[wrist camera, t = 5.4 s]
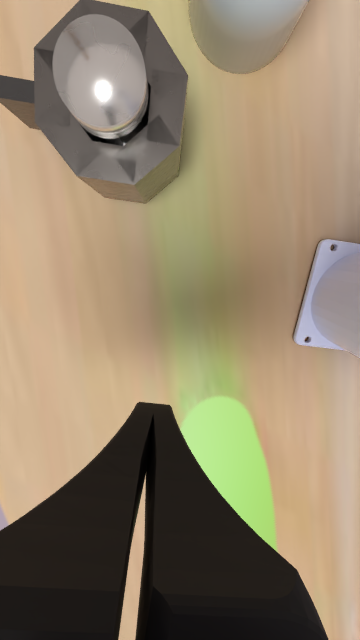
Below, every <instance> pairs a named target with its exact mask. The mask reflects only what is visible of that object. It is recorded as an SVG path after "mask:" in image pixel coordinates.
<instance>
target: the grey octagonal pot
mask: <svg viewBox="0 0 360 640" xmlns="http://www.w3.org/2000/svg"><path fill="white" fill-rule="evenodd" d="M89 14H99V15H105V16H108V17H110V18H113V19H115V20H116V21H118V22H120V23H121V24H122V25H123V26H124V27H126V28H127V29H128V31H129V32H130V33H131V34H132V35H133V37H134V38H135V40H136V42H137V43H138V45H139V48H140V50H141V52H142V56H143V59H144V64H145V70H146V77H147V83H148V104H147V108H146V111H145V114H144V116H143V118H142V121H143V123H144V125H145V127H144V128H143V129H142V130H141V131H140V132H139V133H138V134H136V135H135V136H134V137H133V138H132V139H131V140H130V141H129V142H128V143H126V144H125V145H124V146H120V145H114V144H108V143H106V142H105V138H101V137H98V136H95V135H93V134H91V133H90V132H88V131H87V130H86V129H84V128H83V127H82V126H81V125H80V124H79V122H78V121H77V120H76V119H75V117H74V116H73V115H72V113H71V112H70V111H69V109H68V108H67V107H66V105H65V104H64V102H63V101H62V99H61V97H60V95H59V93H58V91H57V88H56V85H55V81H54V76H53V66H52V63H53V54H54V49H55V46H56V43H57V40H58V38H59V36H60V35H61V33H62V31H63V30H64V29H65V28H66V27H67V26H68V25H69V24H70V23H71V22H72V21H74V20H75V19H77V18H79V17H82V16H85V15H89ZM187 82H188V75H187V73H186V71H185V70H184V68H183V66H182V65H181V63H180V62H179V60H178V58H177V57H176V55H175V53H174V52H173V50H172V48H171V47H170V45H169V44H168V42H167V40H166V39H165V37H164V35H163V34H162V32H161V30H160V29H159V27H158V26H157V24H156V22H155V21H154V19H153V17H152V16H151V14H150V12H149V11H146V10H141V9H136V8H130V7H125V6H120V5H115V4H110V3H105V2H100V1H95V0H80V1H79V2H78V3H77V4H76V5H75V6H74V7H73V8H72V9H71V10H70V11H69V12H68V13H67V14H66V15H65V16H64V17H63V18H62V19H61V20H60V21H59V22H58V23H57V24H56V25H55V26H54V27H53V28H52V29H51V31H50V32H49V33H48V34H47V35H46V36H45V37H44V38H43V39H42V40H41V41H40V42H39V43H38V44H37V45H36V46H35V47H34V81H30V80H25V79H19V78H13V77H8V76H2V75H0V103H1V104H3V105H4V106H5V107H6V108H7V109H8V110H10V111H11V112H12V113H13V114H14V115H16V116H17V117H18V118H19V119H20V120H21V121H23V122H24V123H25V124H26V125H27V126H28V127H30V128H33V129H39V130H41V131H42V132H43V133H44V134H45V136H46V137H47V138H48V140H49V141H50V142H51V143H52V145H53V146H54V147H55V149H56V150H57V151H58V152H59V154H60V155H61V156H62V158H63V159H64V160H65V161H66V163H67V164H68V165H69V167H70V168H71V169H72V170H73V172H74V173H75V174H76V176H78V177H79V178H80V179H81V180H83V181H84V182H85V183H87V184H88V185H89V186H91V187H92V188H93V189H94V190H96V191H97V192H98V193H100V194H101V195H102V196H104V197H106V198H113V199H119V200H126V201H132V202H139V203H147V202H148V201H149V200H150V199H152V198H153V197H154V196H155V195H156V194H157V193H159V192H160V191H161V190H162V189H163V188H165V187H166V186H167V185H168V184H169V183H171V182H172V181H173V180H174V179H175V178H177V177H178V172H179V163H180V155H181V147H182V139H183V131H184V119H185V107H186V95H187Z"/></svg>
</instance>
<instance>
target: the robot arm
mask: <svg viewBox="0 0 360 640" xmlns="http://www.w3.org/2000/svg"><path fill="white" fill-rule="evenodd" d="M332 244H333V245H334V249H333V250H332V251H331V249H330V247H331V245H332ZM306 337H309V339H308V340H307V341H305V338H306ZM293 339H294V341H295V342H296V343H297V344H299V345H306V346H314V347H322V348H330V349H338V350H346V351H348V352H350V353H351V354H353V355H355V356H357V357H358V358H360V244H357V243H350V242H344V241H337V240H330V239H325V240H322V241H320V242H319V244H318V247H317V250H316V254H315V258H314V262H313V265H312V269H311V273H310V277H309V281H308V284H307V288H306V292H305V296H304V299H303V303H302V307H301V311H300V314H299V318H298V322H297V326H296V329H295V333H294V338H293ZM145 475H146V499H145V541H144V556H143V567H142V577H141V588H140V598H139V608H138V619H137V629H136V639H135V640H328V637H327V635H326V632H325V630H324V627H323V625H322V622H321V620H320V617H319V615H318V613H317V610H316V608H315V606H314V604H313V602H312V599H311V597H310V595H309V593H308V591H307V589H306V587H305V585H304V583H303V581H302V579H301V577H300V575H299V573H298V571H297V569H295V568H294V567H293V566H292V565H291V564H290V563H289V562H288V561H286V560H285V559H284V558H283V557H282V556H281V555H280V554H279V553H277V552H276V551H275V550H274V549H273V548H272V547H271V546H270V545H268V544H267V543H266V542H265V541H264V540H263V539H262V538H261V537H260V536H258V534H256V533H255V531H254V530H253V529H252V528H251V527H249V526H248V524H246V522H245V521H244V520H243V519H242V518H241V517H240V516H239V515H238V514H237V513H236V512H235V510H234V509H233V508H232V507H231V506H230V505H229V504H228V503H227V501H226V500H225V499H224V498H223V497H222V496H221V494H220V493H219V492H218V490H217V489H216V488H215V487H214V485H213V484H212V483H211V481H210V480H209V478H208V477H207V476H206V474H205V473H204V471H203V470H202V468H201V467H200V465H199V464H198V462H197V461H196V459H195V457H194V455H193V454H192V452H191V450H190V449H189V447H188V445H187V443H186V441H185V439H184V437H183V435H182V433H181V431H180V429H179V427H178V424H177V422H176V419H175V417H174V414H173V411H172V408H171V406H170V405H164V404H154V403H144V402H139V403H137V404H136V406H135V408H134V410H133V411H132V413H131V415H130V416H129V418H128V419H127V420H126V422H125V423H124V424H123V426H122V427H121V428H120V430H119V431H118V432H117V434H116V435H115V436H114V437H113V438H112V439H111V441H110V442H109V443H108V444H107V445H106V446H105V447H104V449H103V450H102V451H101V452H100V453H99V454H98V455H97V456H96V457H95V458H94V459H93V460H92V461H91V462H90V463H89V464H88V465H87V466H86V467H85V468H84V469H82V470H81V471H80V472H79V473H78V474H77V475H76V476H74V477H73V478H72V479H71V480H70V481H69V482H68V483H66V484H65V485H64V486H63V487H61V488H60V489H59V490H58V491H57V492H55V493H54V494H53V495H51V496H50V497H49V498H47V499H46V500H44V501H43V502H42V503H40V504H39V505H38V506H36V507H35V508H33V509H32V510H31V511H29V512H28V513H27V514H25V515H24V516H22V517H21V518H19V519H18V520H16V521H15V522H13V523H12V524H10V525H9V526H7V527H6V528H4V529H2V530H1V531H0V640H118V637H119V630H120V622H121V615H122V607H123V600H124V592H125V585H126V577H127V570H128V562H129V555H130V549H131V543H132V537H133V532H134V527H135V523H136V518H137V513H138V508H139V503H140V499H141V494H142V489H143V484H144V480H145Z"/></svg>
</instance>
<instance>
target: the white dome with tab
mask: <svg viewBox="0 0 360 640" xmlns="http://www.w3.org/2000/svg"><path fill="white" fill-rule="evenodd" d="M308 2H309V0H189V18H190V25H191V29H192V33H193V35H194V38H195V41H196V43H197V45H198V47H199V48H200V50H201V51H202V53H203V54H204V56H205V57H206V58H207V59H208V60H209V61H210V62H211V63H212V64H214V65H215V66H216V67H218V68H220V69H222V70H224V71H226V72H230V73H235V74H246V73H251V72H254V71H257V70H259V69H261V68H263V67H265V66H266V65H268V64H269V63H270V62H272V61H273V60H274V59H275V58H276V57H277V55H278V54H279V53H280V52H281V50H282V49H283V47H284V46H285V44H286V43H287V41H288V39H289V37H290V35H291V33H292V32H293V30H294V28H295V26H296V24H297V22H298V20H299V19H300V17H301V15H302V13H303V11H304V9H305V7H306V6H307V4H308Z"/></svg>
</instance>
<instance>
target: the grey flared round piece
mask: <svg viewBox="0 0 360 640" xmlns="http://www.w3.org/2000/svg"><path fill="white" fill-rule="evenodd" d="M52 66H53V76H54V81H55V85H56V88H57V91H58V93H59V95H60V97H61V99H62V101H63V102H64V104H65V105H66V107H67V108H68V109H69V111H70V112H71V113H72V115H73V116H74V117H75V119H76V120H77V121H78V122H79V124H80V125H81V126H82V127H83V128H84V129H86V130H87V131H88V132H90V133H91V134H93V135H95V136H98V137H101V138H105V142H106V143H108V144H114V145H120V146H124V145H125V144H126V143H128V142H129V141H130V140H131V139H132V138H133V137H134V136H135V135H136V134H138V133H139V132H140V131H141V130H142V129H143V128H144V127H145V125H144V123H143V121H142V118H143V116H144V114H145V111H146V108H147V104H148V83H147V77H146V70H145V64H144V59H143V56H142V52H141V50H140V48H139V45H138V43H137V42H136V40H135V38H134V37H133V35H132V34H131V33H130V32H129V31H128V29H127V28H126V27H124V26H123V25H122V24H121V23H120V22H118V21H116V20H115V19H113V18H110V17H108V16H105V15H99V14H89V15H85V16H82V17H79V18H77V19H75V20H74V21H72V22H71V23H70V24H69V25H68V26H67V27H66V28H65V29H64V30H63V31H62V33H61V35H60V36H59V38H58V40H57V43H56V46H55V49H54V54H53V63H52Z"/></svg>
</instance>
